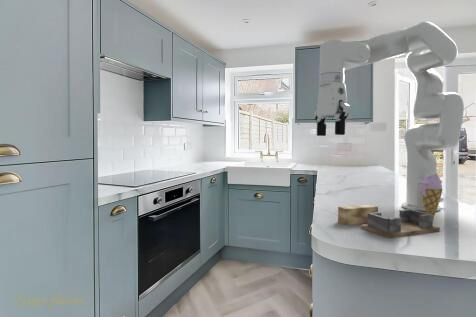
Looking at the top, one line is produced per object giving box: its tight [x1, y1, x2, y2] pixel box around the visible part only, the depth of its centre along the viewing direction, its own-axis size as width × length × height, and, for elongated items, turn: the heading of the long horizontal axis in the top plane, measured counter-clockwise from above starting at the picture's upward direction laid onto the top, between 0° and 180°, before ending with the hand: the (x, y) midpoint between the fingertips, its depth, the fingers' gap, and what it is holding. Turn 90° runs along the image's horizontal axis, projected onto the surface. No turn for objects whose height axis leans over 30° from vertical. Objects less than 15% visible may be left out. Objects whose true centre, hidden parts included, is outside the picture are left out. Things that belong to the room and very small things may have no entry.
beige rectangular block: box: [337, 204, 379, 226], centre depth 95 cm, size 12×4×5 cm, turn 108°
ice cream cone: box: [419, 172, 443, 219], centre depth 98 cm, size 7×6×15 cm
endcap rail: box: [360, 208, 441, 239], centre depth 87 cm, size 18×10×4 cm, turn 110°
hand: (330, 135), depth 98 cm, fingers open, 9 cm apart
